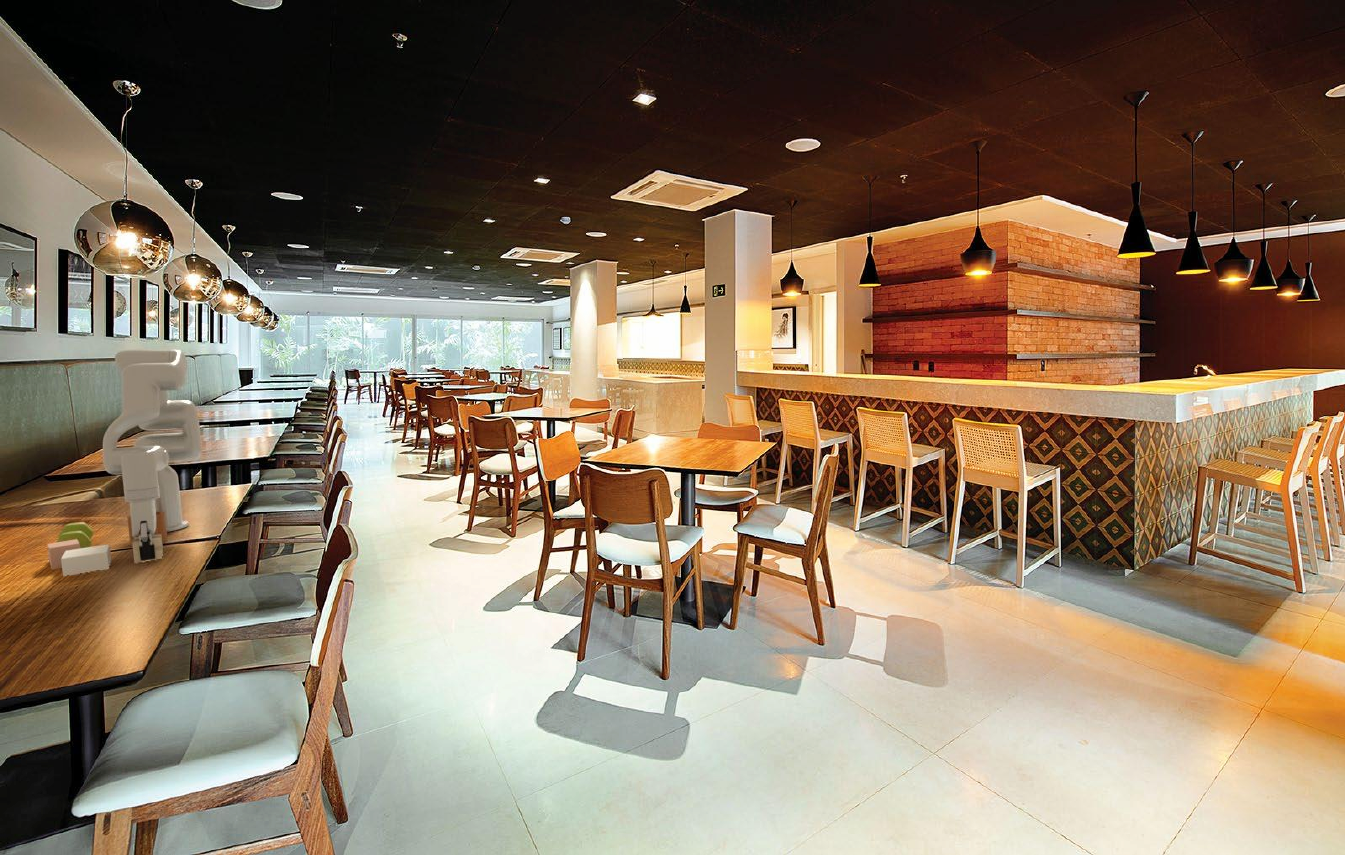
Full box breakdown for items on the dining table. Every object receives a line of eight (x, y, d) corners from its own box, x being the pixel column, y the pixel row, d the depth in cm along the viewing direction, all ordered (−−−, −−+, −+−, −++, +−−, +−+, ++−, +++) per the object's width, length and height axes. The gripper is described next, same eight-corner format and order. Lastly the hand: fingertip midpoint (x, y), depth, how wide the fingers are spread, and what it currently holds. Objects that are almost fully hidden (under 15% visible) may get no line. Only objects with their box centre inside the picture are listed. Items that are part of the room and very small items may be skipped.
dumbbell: (92, 555, 185) (89, 531, 184) (54, 561, 180) (51, 536, 179) (96, 542, 198) (93, 519, 197) (60, 547, 193) (57, 524, 192)
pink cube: (50, 565, 176) (47, 544, 176) (79, 559, 181) (76, 539, 180) (52, 569, 172) (49, 548, 172) (82, 564, 177) (79, 543, 176)
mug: (130, 552, 187) (126, 522, 186) (130, 543, 196) (126, 514, 195) (169, 545, 193) (165, 516, 192) (167, 537, 202) (163, 509, 201)
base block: (67, 568, 174) (65, 550, 173) (111, 561, 179) (109, 544, 179) (63, 577, 167) (61, 558, 166) (108, 569, 172) (106, 552, 172)
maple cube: (136, 558, 182) (134, 537, 181) (163, 554, 185) (161, 534, 184) (134, 563, 177) (132, 542, 176) (162, 559, 180) (160, 538, 180)
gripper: (127, 490, 183) (134, 551, 186) (121, 501, 169) (128, 567, 172) (161, 487, 188) (167, 546, 190) (157, 497, 174) (164, 561, 176)
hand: (148, 555), depth 181 cm, fingers closed on maple cube, 6 cm apart
